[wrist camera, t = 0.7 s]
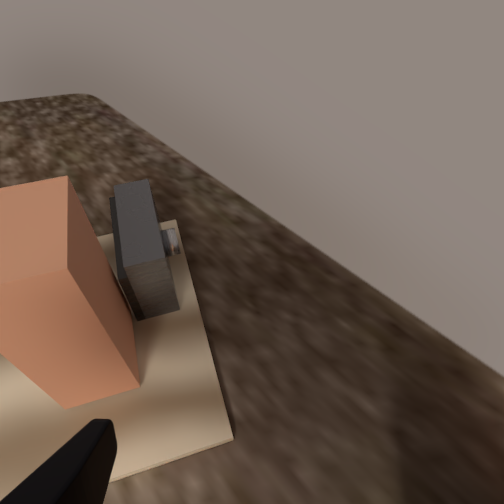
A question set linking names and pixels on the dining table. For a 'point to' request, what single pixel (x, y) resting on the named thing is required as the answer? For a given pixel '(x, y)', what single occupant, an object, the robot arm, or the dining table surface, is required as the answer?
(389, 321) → the dining table surface
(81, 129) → the dining table surface
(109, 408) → the base board
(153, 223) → the band block
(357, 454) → the dining table surface
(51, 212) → the peg post
